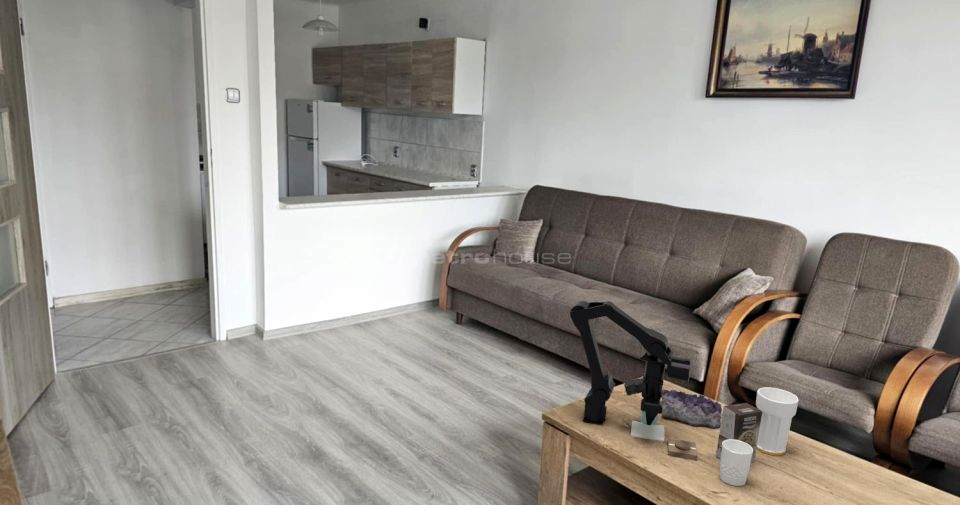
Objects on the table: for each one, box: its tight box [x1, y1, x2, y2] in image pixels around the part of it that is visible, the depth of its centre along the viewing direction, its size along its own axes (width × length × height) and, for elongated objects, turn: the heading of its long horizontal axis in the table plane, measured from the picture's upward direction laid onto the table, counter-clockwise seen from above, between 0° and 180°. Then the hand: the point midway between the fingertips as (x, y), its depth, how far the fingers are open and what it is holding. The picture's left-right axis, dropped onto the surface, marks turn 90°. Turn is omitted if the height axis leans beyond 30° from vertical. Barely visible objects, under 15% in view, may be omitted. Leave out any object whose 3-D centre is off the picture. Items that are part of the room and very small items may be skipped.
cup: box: [755, 386, 800, 457], centre depth 190 cm, size 11×11×17 cm
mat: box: [630, 420, 665, 443], centre depth 198 cm, size 10×10×1 cm
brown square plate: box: [667, 437, 698, 461], centre depth 187 cm, size 8×8×2 cm
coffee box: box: [715, 402, 762, 463], centre depth 183 cm, size 9×6×16 cm
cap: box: [640, 411, 658, 425], centre depth 197 cm, size 6×5×5 cm
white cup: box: [719, 439, 753, 487], centre depth 173 cm, size 8×8×10 cm
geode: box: [660, 389, 723, 430], centre depth 208 cm, size 20×12×10 cm, turn 64°
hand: (648, 421), depth 197 cm, fingers closed on cap, 5 cm apart
